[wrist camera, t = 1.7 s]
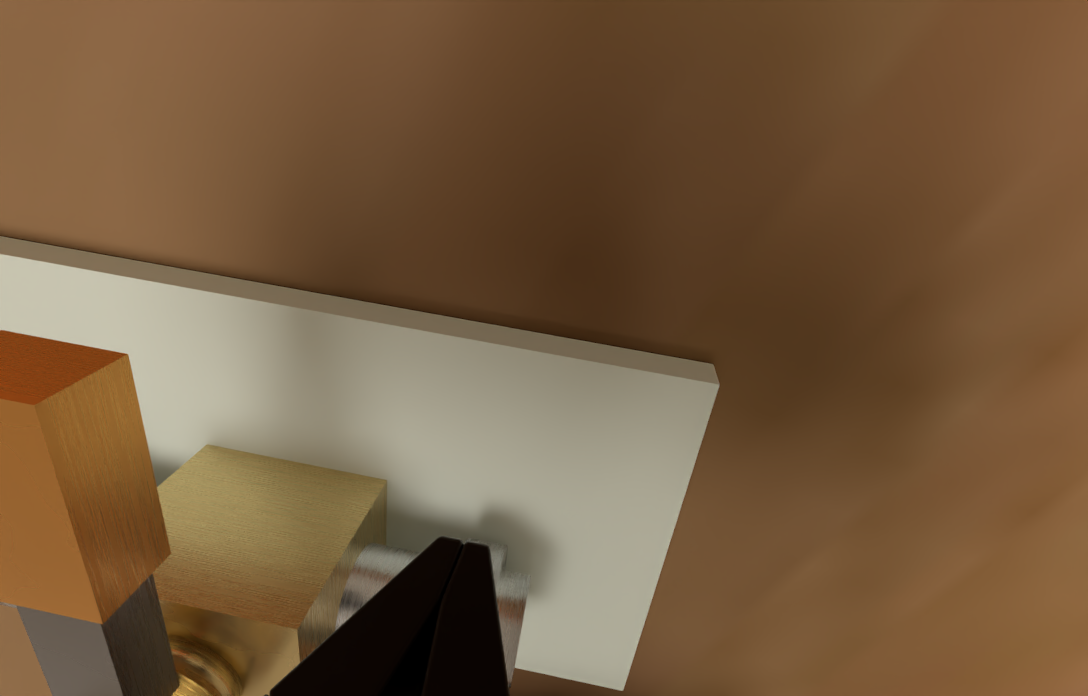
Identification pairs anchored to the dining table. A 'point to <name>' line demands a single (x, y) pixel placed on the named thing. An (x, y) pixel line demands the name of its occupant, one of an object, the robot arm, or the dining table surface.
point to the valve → (280, 566)
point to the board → (410, 424)
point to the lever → (82, 521)
